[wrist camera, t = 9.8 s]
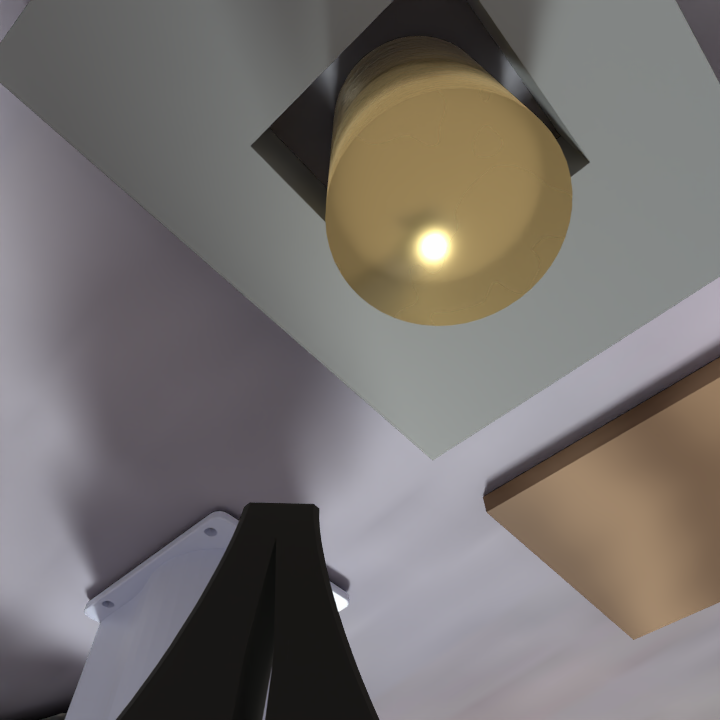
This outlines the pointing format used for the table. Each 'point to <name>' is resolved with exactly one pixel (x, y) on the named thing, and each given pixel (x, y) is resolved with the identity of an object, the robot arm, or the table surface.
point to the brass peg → (441, 186)
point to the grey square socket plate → (308, 195)
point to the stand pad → (631, 508)
